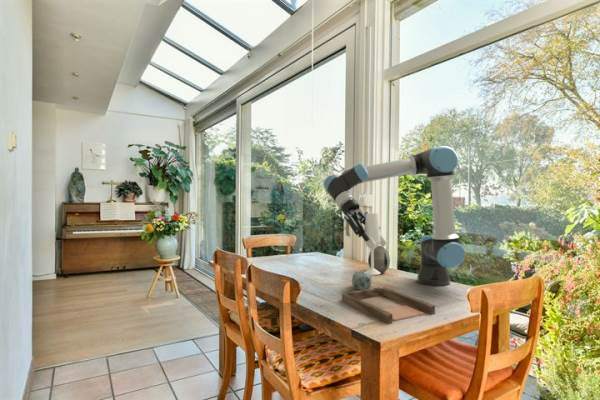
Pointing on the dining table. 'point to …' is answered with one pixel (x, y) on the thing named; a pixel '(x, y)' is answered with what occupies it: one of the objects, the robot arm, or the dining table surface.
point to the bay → (376, 312)
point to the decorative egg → (380, 259)
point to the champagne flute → (374, 233)
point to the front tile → (403, 312)
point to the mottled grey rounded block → (361, 280)
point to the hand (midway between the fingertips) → (379, 245)
